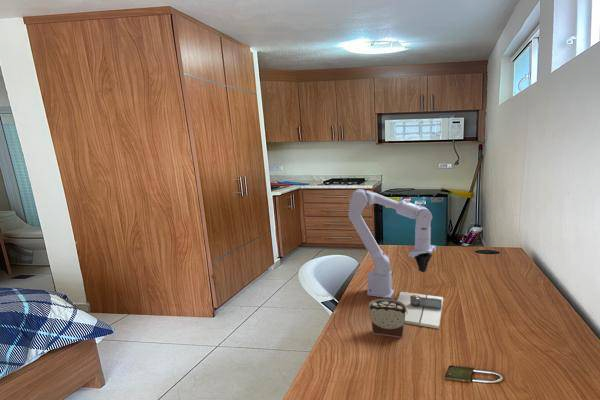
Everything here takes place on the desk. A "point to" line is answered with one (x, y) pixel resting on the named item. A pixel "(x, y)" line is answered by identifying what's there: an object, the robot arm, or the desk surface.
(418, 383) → the desk surface
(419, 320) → the door board
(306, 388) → the desk surface
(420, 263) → the robot arm
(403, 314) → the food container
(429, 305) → the bar
